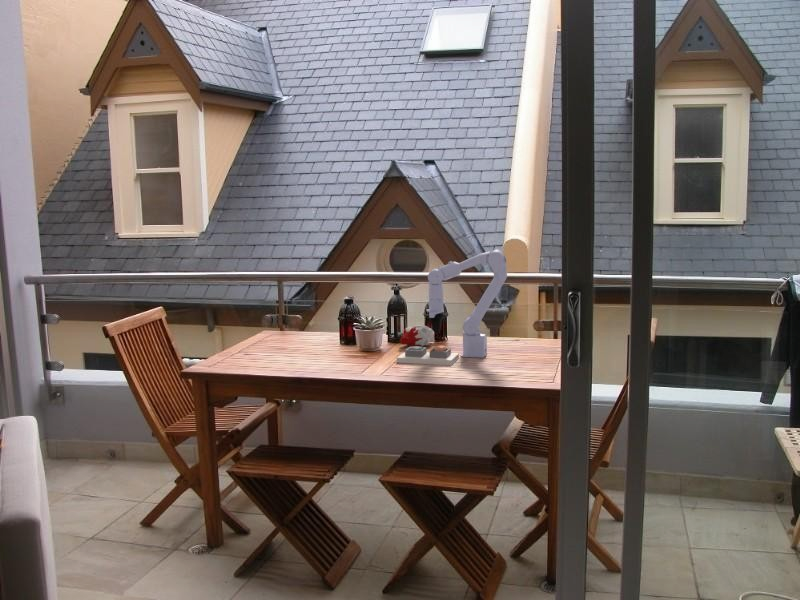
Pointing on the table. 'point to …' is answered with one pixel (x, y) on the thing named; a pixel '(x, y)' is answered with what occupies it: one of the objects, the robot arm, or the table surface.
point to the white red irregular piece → (416, 335)
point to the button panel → (428, 357)
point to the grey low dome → (416, 348)
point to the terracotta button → (440, 348)
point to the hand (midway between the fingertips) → (436, 332)
